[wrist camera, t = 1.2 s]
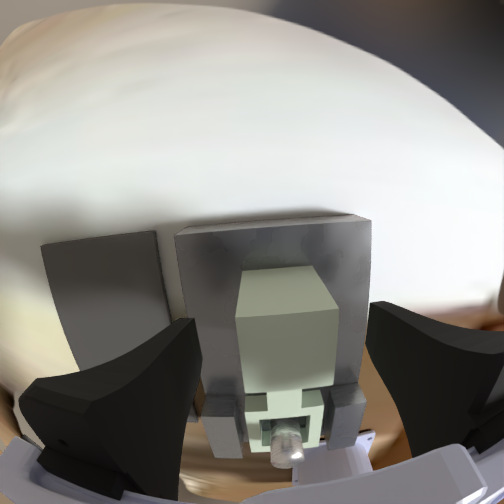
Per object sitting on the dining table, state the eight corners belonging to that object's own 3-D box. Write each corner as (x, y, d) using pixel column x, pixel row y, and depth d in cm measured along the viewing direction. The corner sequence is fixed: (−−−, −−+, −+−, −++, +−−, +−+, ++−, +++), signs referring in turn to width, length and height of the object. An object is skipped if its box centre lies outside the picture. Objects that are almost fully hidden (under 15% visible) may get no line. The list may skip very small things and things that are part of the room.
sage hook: (315, 432, 17) (325, 483, 12) (251, 437, 17) (250, 490, 12) (324, 264, 14) (357, 306, 9) (229, 271, 14) (215, 318, 9)
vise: (340, 410, 19) (359, 469, 13) (221, 420, 20) (213, 482, 13) (354, 214, 15) (410, 235, 9) (186, 227, 16) (143, 255, 10)
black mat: (198, 419, 20) (197, 422, 19) (101, 407, 20) (99, 409, 20) (155, 230, 16) (152, 231, 15) (43, 245, 16) (40, 246, 16)
